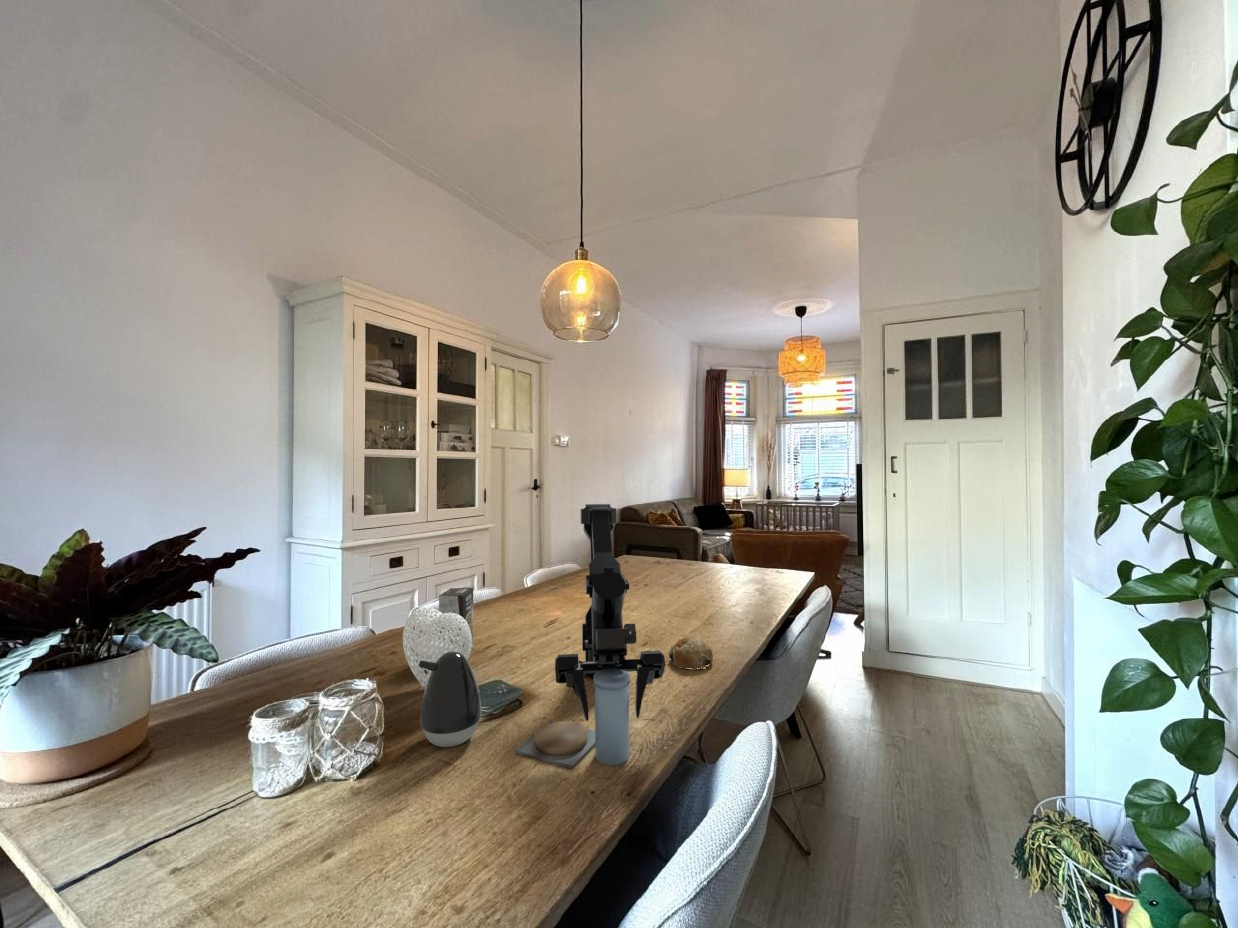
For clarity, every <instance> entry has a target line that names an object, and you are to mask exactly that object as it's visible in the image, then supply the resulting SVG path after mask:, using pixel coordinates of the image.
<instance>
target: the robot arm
mask: <svg viewBox="0 0 1238 928" xmlns="http://www.w3.org/2000/svg"><path fill="white" fill-rule="evenodd" d="M614 524H617V508H616V507H615V508H614V507H612V506H611V504H610V503H592V504H591V503H589V504H588V503H587V504H585V506H584V508H580V525H583V533H584V535H585V536H586V537H587V539H588V540H589V544H590V545H589V549H590V550H589V551H590V553H589V555H590V559H589V560H590V561H589V563H588V574H585V576H584V577H585V579H584V580H585V585H584V586H585V594H586V595H589V598H590V602H591V603H590V605H589V608H588V610H587V612H586V614H585V615H584V623H582V624H581V625H582V626H581V645H582V648H581V649H582V652H585V654H584V655H585V660H584V661H583V660H579V653H570V654H569V653H568V654H565V653H564V654H558V655H557V656H556V657H555V659H554V662H555V664H554V671H555V672H554V674H555V675H554V676H555V683H556V684H565V685H566V687H567V688H568V689H569V688H571V689H572V690H573V692H574V694H575V696H576V698H577V700H578V702H579V705H580V708H581V710H582V714H583V716H584V719H585V721H586V722H588V721H589V703H588V697H587V691H586V684H585V682H586V681H585V678H589V679H593V676H594V674H595V673H596V672H598V671H601V670H605V669H620V670H624V671H626V672H636V674H637V675H636V679H635V680H636V681H635V703H634V704H635V707H634V708H635V709H634V710H635V711H634V713H635V718H636V719H639V718H640V713H641V709H642V708H641V707H642V703H643V697H644V694H645V691H646V688H647V685H651V684H653V682H654V680H659V679H661V678H663V675H664V673H665V672H664V671H665V668H666V659H665V654H664V653H663V652H662V651H661V650H646V651H645V650H644V651H643V650H642V651H640V655H639V658H636V659H635V658H632V659H631V658H630V659H626V656H627V655H628V649H627V647H628V645H633V644H636V643H637V629H636V623H635V622H634V623H624V622H623V608H624V603H625V596H626V594H627V592H628V590H630V582H629V581H628V579H627V578H626V577H625V574H624V573H622V571H621V570H622V569H621V566H620V565H621V563H620V562H619V561H618V560H617V558H615V557H614V553H613V543H612V542H613V541H612V531H613V529H614ZM623 623H624V625H623Z"/></svg>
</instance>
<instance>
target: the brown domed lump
mask: <svg viewBox="0 0 1238 928" xmlns="http://www.w3.org/2000/svg"><path fill="white" fill-rule="evenodd" d="M668 656H669V659H670V662H671V663H672V662H673V663H674V664H673V665H674V666H675V665H676V666H675V667H677V666H679V667H681V668H692V669H697V668H701V667H702V668H703V667H706V665H708V664H710V663H711V664H712V663H713V660H714V655H713V651H712V649H711V647H710V646H709V644H708V643H706V642H705V641H704V640H703V639H702V638H701V637H700V638H698V637H693V636H686V637H683V638H681V639H678V640H677V641H676V642H675V643H674V644H673V645H671V648H670V649H669V650H668ZM711 664H710V665H711ZM679 667H678V668H679ZM681 668H680V669H681Z"/></svg>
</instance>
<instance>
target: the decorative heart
mask: <svg viewBox="0 0 1238 928" xmlns="http://www.w3.org/2000/svg"><path fill="white" fill-rule="evenodd" d="M454 616H455V617H454ZM456 619H457V620H456ZM442 622H443V623H442ZM451 623H452V624H451ZM454 625H455V626H454ZM439 627H440V629H439ZM442 627H444V628H445V630H443V629H442ZM449 627H450V628H449ZM454 628H455V629H454ZM459 628H460V629H461V631H459ZM451 629H452V630H453V632H452V631H451ZM447 630H448V631H449V633H448V631H447ZM440 631H441V634H440ZM456 633H457V634H456ZM452 635H453V636H452ZM457 635H459V638H458V637H457ZM454 636H455V638H453V637H454ZM444 637H445V641H444ZM439 638H441V639H440V640H439ZM447 639H448V640H447ZM450 639H452V640H453V643H452V644H451V643H450ZM455 641H456V642H457V644H456V645H455ZM463 644H464V646H463ZM471 646H472V635H471V630H470V628H469V625H468V623H467V622H466V620H465V619H464V618H463V617H462V616H460V615H458V614H455V613H444V614H443V613H441V612H439V609H436V608H432V607H426V606H425V607H420V608H417V609H415V610H414V611H413V612H411V614H409V616H408V618H407V619H406V620H405V623H404V627H403V632H402V647H403V652H404V656H405V658H406V662H407V664H408V666H409V668H410V670H411V672H412V674H413V675H414V677H415V679H416V680H417V681H418V682H419V683H420V687H422V688H423V687H424V689H425V688H426V684H427V681H428V679H429V676H430V674H431V671H430V670H428V669H425V668H422V667H419V662H420V661H421V660H423V661H428V662H434V663H436V662H437V660H438V659H439V658H440V657H441V656H442V655H443V654H445V653H447V652H451V651H455V652H459V653H461V654H463V655H464V656H465V658H466V659H467V660H468V661H469V657H470V655H471V652H472V650H471ZM457 649H458V650H457ZM425 671H426V672H427V673H426V672H425Z"/></svg>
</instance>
